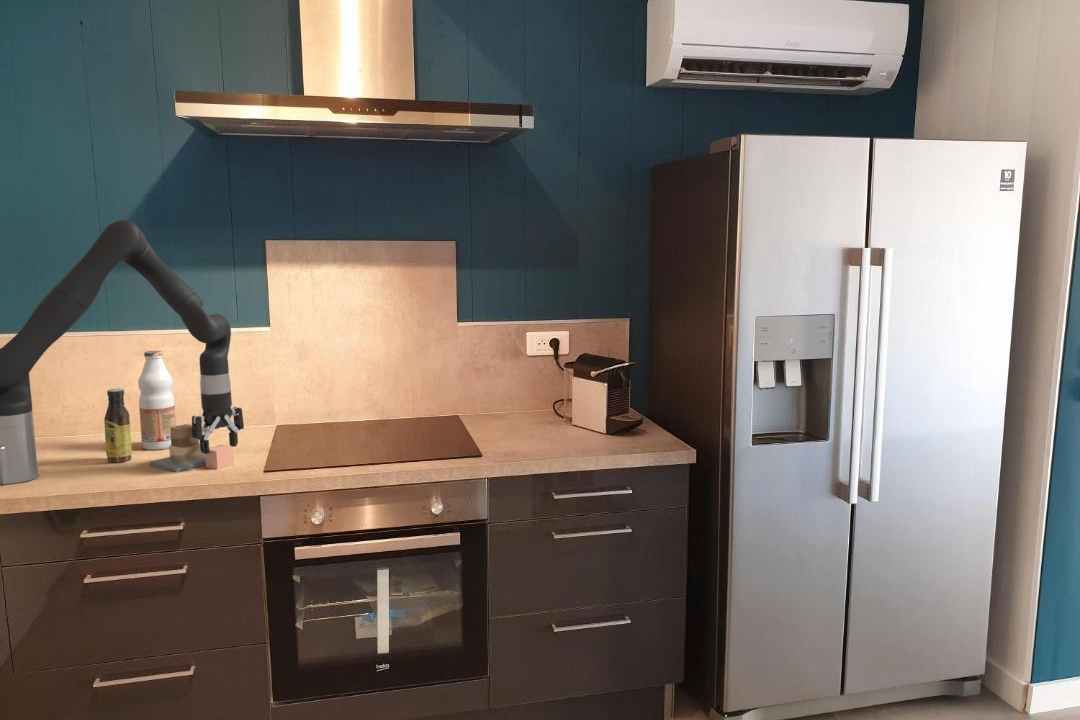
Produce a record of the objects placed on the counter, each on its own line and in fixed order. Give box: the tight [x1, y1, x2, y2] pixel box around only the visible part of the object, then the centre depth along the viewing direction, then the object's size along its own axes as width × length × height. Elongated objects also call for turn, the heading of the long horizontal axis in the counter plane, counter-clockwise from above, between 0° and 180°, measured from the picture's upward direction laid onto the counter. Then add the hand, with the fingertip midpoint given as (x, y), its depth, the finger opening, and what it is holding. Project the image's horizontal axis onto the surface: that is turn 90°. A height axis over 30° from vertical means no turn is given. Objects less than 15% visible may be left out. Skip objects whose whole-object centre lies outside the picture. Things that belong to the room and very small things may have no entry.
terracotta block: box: [205, 444, 234, 471], centre depth 223 cm, size 5×5×5 cm
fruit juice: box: [137, 350, 177, 451], centre depth 241 cm, size 9×9×28 cm
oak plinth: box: [168, 442, 203, 463], centre depth 226 cm, size 6×6×4 cm
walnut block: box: [170, 423, 200, 448], centre depth 225 cm, size 5×5×5 cm
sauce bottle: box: [104, 387, 133, 464], centre depth 227 cm, size 6×6×20 cm
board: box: [149, 453, 206, 473], centre depth 226 cm, size 14×12×1 cm
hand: (219, 449), depth 223 cm, fingers open, 8 cm apart
